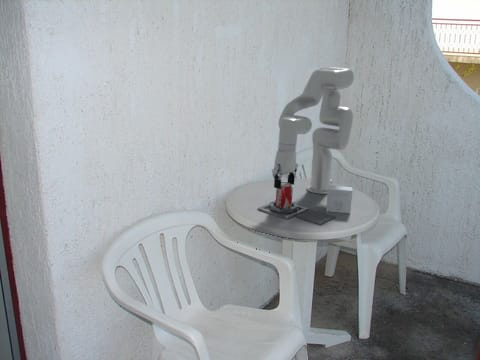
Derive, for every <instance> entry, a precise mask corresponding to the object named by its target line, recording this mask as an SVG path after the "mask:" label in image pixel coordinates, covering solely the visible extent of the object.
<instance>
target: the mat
mask: <svg viewBox="0 0 480 360" xmlns="http://www.w3.org/2000/svg"><path fill="white" fill-rule="evenodd" d="M295 217H296V218H297V219H301V220H303V221H306V222H309V223H313V224H315V225H319V226H322V225H324V224H326V223H328V222H330V221H333V220H335V219H336V217H337V216H336V215H334V214H330V213H326V212H323V211H320V210H316V209H313V208H311V209H309V210H308V211H306V212H304V213H301V214H299V215H297V216H295Z"/></svg>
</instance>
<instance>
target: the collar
mask: <svg viewBox="0 0 480 360" xmlns="http://www.w3.org/2000/svg"><path fill="white" fill-rule="evenodd" d="M257 210H258V211H260V212H263V213H266V214H270V215H272V216H275V217H277V218H282V219H284V220H290V219H292V218H294V217H296V216H297V215H300V214H302V213H304V212H306V211H309V210H310V208H308V207H304V206H302V205H298V204H297V202H294V201H292V206H291V208H279V207H276V199H275V200H272V201H270V202H269V203H266V204H265V205H262V206H259V207H257Z"/></svg>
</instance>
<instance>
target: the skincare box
mask: <svg viewBox="0 0 480 360" xmlns="http://www.w3.org/2000/svg"><path fill="white" fill-rule="evenodd" d="M326 196H327V197H326V210H325V211H326V212H328V211H329V212H330V213H340V214H341V213H342V214H351V211H352V210H351V209H352V199H353V187H351V186H339V185H332V184H330V185H329V186H328V194H326ZM329 212H328V213H329Z"/></svg>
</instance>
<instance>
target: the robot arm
mask: <svg viewBox="0 0 480 360" xmlns="http://www.w3.org/2000/svg"><path fill="white" fill-rule="evenodd" d="M309 77H310V78H309V79H308V81H307V83H306V85H305V86H304V89H303V91H302V93H301V94H300V95H298V96H296V97H295V98H293V99H292V100H291V101H289V102H288V103H287V104H286V105H285V106H284V108H283V110H282V112H281V114H280V116H279V119H278V128H279V133H278V134H279V135H278V146H277V147H278V149H277V151H276V154H275V158H274V167H273V169H272V171H271V173H272V176H273V180H274V182H273V188H274V189H277V188H278V189H281V182H282V177H283V176H284V175H287V182H288V183H291V184H292V185H293V186H294V185H295V176H296V173H297V171H298V167H299V164H298V163H297V144H298V143H297V142H298V141H297V140H298V135H306V134H308V133H309V132H310V131H311V129H312V127H313V126H312V124H313V123H312V120H311V119H310V118H309V117H307V116H302V115H296V114H297V112H299V111H302V110H304V109H309V108H312V107H315V106H317V105H319V103H320V101H321V104H320V110H319V115H318V116H319V118H318V119H319V122H320V123H321V124H322V125H326V126H329V127H321V126H320V127H317V128H315V129H314V130H313V131H312V137H311V138H312V139H311V140H312V162H311V172H310V184H309V185H306V190H307V191H308V192H311V193H314V194H319V195H328V186H329V185H333V183H334V180H333V179H331V176H332V175H331V174H332V164H333V155H332V151H331V150H334V151H335V150H336V151H344V150H346V149H347V147H348V146H349V141H350V136H351V131H352V126H353V119H354V114H353V111H352V109H350V107H346V106H340V103H341V99H342V98H341V97H342V96H341V92H340V90H344V89H348V88H349V87H350V86H352V85H353V82H354V80H355V79H354V78H355V75H354V71H353V70H352V69H351V68H346V67H333V66H326V67H325V66H324V67H320V68H318V69H316V70H314V71H313V72H312V73H311V75H310V76H309ZM330 126H333V127H336V129H335V128H330ZM337 127H338V129H337ZM292 185H291V186H292Z"/></svg>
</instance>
